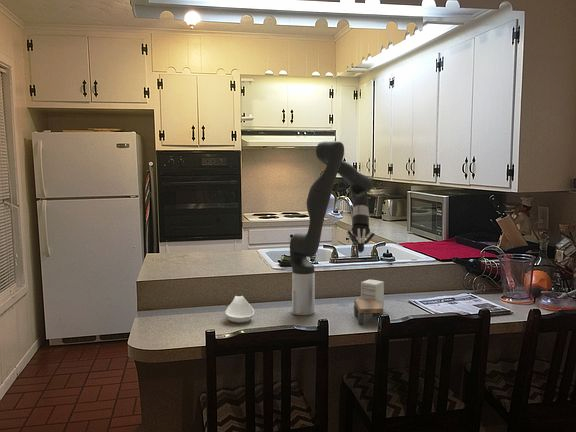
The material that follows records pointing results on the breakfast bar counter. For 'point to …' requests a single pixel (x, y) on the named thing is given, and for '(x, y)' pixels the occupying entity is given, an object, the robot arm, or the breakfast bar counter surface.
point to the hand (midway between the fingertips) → (360, 252)
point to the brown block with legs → (367, 308)
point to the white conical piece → (239, 310)
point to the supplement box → (373, 291)
